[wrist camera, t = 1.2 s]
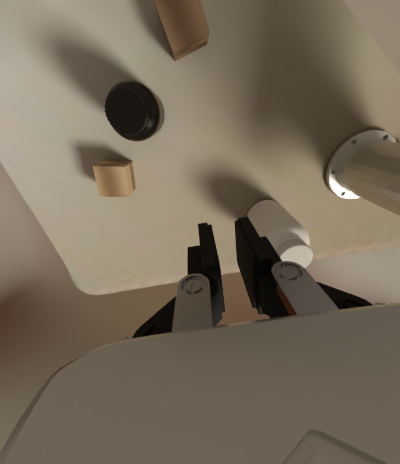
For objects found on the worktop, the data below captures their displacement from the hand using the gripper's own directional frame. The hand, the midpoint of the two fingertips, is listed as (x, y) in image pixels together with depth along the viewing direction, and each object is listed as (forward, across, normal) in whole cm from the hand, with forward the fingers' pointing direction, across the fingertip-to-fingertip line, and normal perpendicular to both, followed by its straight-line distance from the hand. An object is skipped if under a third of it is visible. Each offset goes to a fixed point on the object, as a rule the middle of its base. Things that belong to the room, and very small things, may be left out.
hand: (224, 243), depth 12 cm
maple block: (+29, +15, +1) cm, 33 cm away
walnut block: (+29, 0, -17) cm, 34 cm away
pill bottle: (+29, -12, +14) cm, 35 cm away
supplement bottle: (+29, +8, -8) cm, 31 cm away
